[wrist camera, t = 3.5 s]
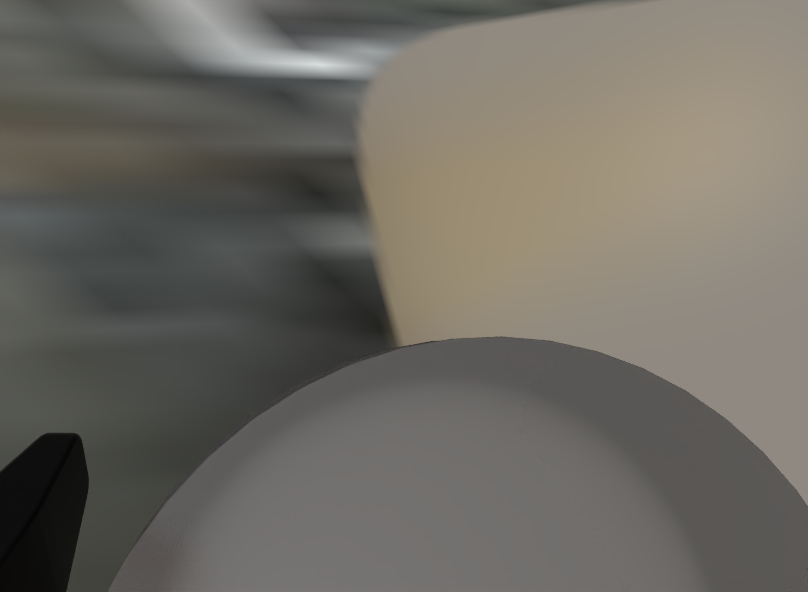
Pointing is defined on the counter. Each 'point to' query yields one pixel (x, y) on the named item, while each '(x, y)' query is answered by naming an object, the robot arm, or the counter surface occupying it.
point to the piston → (478, 485)
